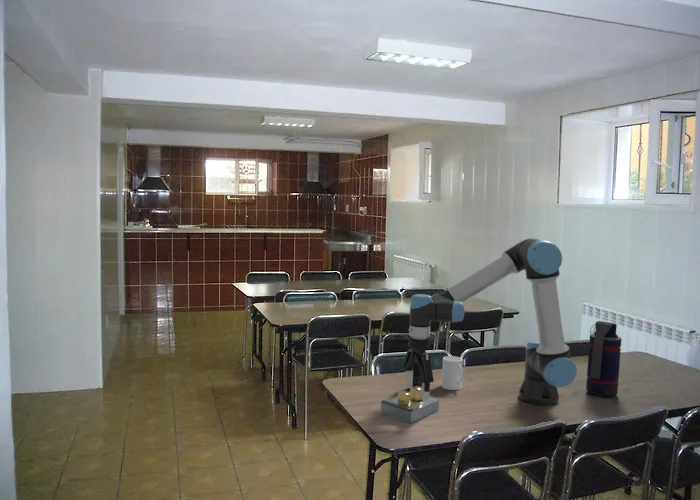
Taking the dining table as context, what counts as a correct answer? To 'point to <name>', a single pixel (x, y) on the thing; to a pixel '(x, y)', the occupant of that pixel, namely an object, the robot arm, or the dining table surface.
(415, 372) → the supplement bottle
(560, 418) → the dining table surface
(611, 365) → the grenade
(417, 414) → the block
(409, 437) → the dining table surface
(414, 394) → the cylinder
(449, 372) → the mug
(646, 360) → the dining table surface
